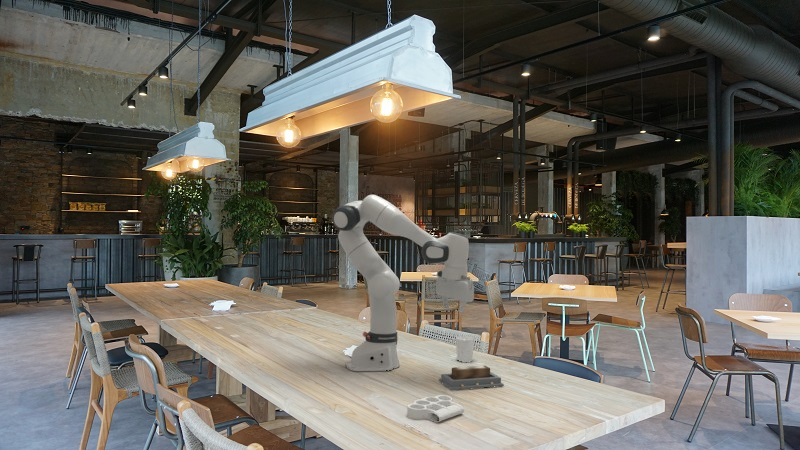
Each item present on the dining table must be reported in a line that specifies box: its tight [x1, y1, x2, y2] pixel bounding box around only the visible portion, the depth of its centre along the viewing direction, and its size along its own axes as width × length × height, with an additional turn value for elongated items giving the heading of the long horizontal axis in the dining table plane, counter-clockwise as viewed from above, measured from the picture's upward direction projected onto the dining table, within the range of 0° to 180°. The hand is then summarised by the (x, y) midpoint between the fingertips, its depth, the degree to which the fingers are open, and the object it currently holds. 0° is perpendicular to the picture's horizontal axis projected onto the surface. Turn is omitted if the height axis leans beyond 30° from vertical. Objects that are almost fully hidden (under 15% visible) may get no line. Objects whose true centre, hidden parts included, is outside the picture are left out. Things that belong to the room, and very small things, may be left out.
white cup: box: [455, 336, 475, 363], centre depth 225 cm, size 8×8×10 cm
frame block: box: [451, 365, 491, 380], centre depth 190 cm, size 14×4×5 cm, turn 108°
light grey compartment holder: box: [406, 394, 465, 423], centre depth 158 cm, size 3×18×15 cm
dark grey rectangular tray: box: [438, 371, 505, 391], centre depth 190 cm, size 21×12×3 cm, turn 108°
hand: (453, 310), depth 196 cm, fingers open, 8 cm apart
